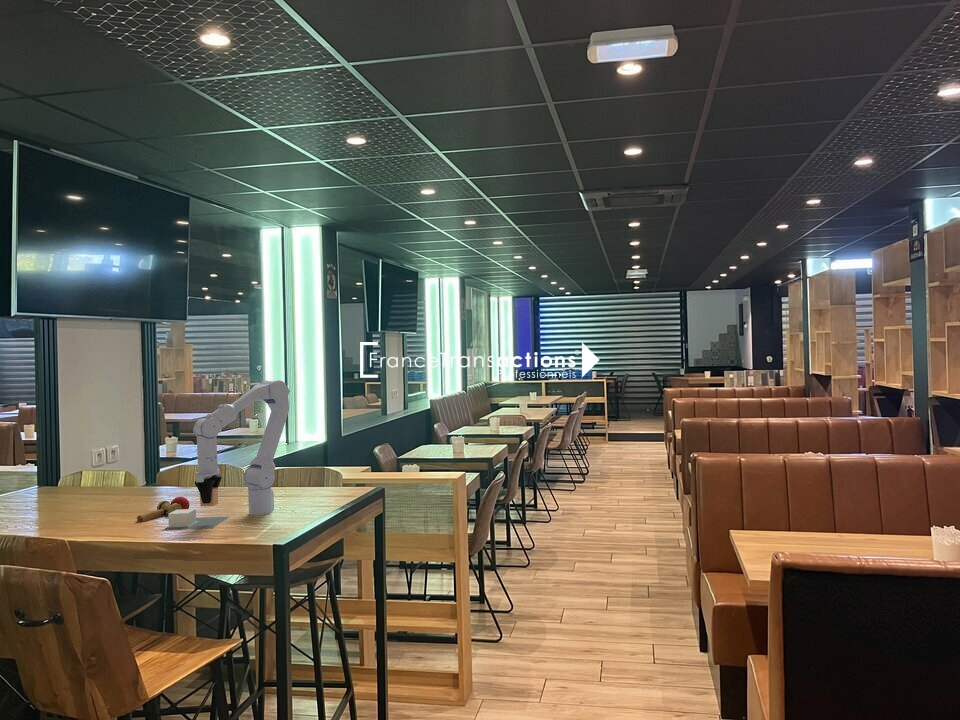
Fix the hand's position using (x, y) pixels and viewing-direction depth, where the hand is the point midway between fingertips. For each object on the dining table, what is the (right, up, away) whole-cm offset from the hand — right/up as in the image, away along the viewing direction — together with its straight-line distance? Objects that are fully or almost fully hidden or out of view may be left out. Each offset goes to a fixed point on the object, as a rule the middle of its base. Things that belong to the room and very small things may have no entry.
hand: (209, 501), depth 223 cm
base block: (-8, -7, -1) cm, 10 cm away
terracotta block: (0, -1, 0) cm, 1 cm away
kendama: (-19, -8, +13) cm, 25 cm away
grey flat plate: (-4, -7, 0) cm, 8 cm away
